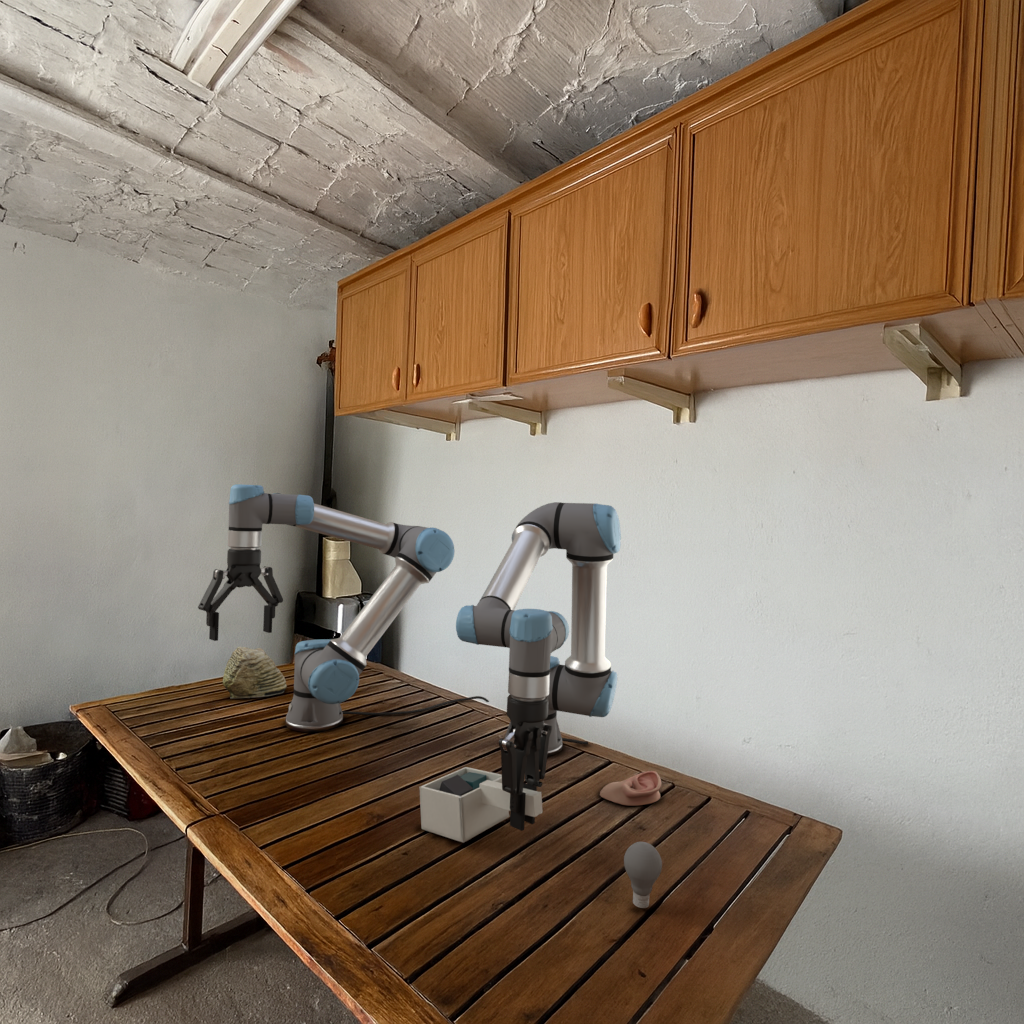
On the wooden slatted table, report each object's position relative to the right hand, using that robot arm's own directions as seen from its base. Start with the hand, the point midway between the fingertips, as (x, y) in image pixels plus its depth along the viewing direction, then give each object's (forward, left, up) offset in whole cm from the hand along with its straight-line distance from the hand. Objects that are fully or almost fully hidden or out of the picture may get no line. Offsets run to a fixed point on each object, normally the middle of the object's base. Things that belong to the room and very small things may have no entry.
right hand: (522, 824), depth 115 cm
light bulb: (-11, +21, -6) cm, 24 cm away
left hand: (+43, -66, +23) cm, 82 cm away
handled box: (+3, -7, -4) cm, 9 cm away
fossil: (+35, -111, -6) cm, 117 cm away
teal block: (+3, -15, -4) cm, 16 cm away
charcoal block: (+8, -15, -4) cm, 17 cm away
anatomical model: (-34, -11, -6) cm, 36 cm away
